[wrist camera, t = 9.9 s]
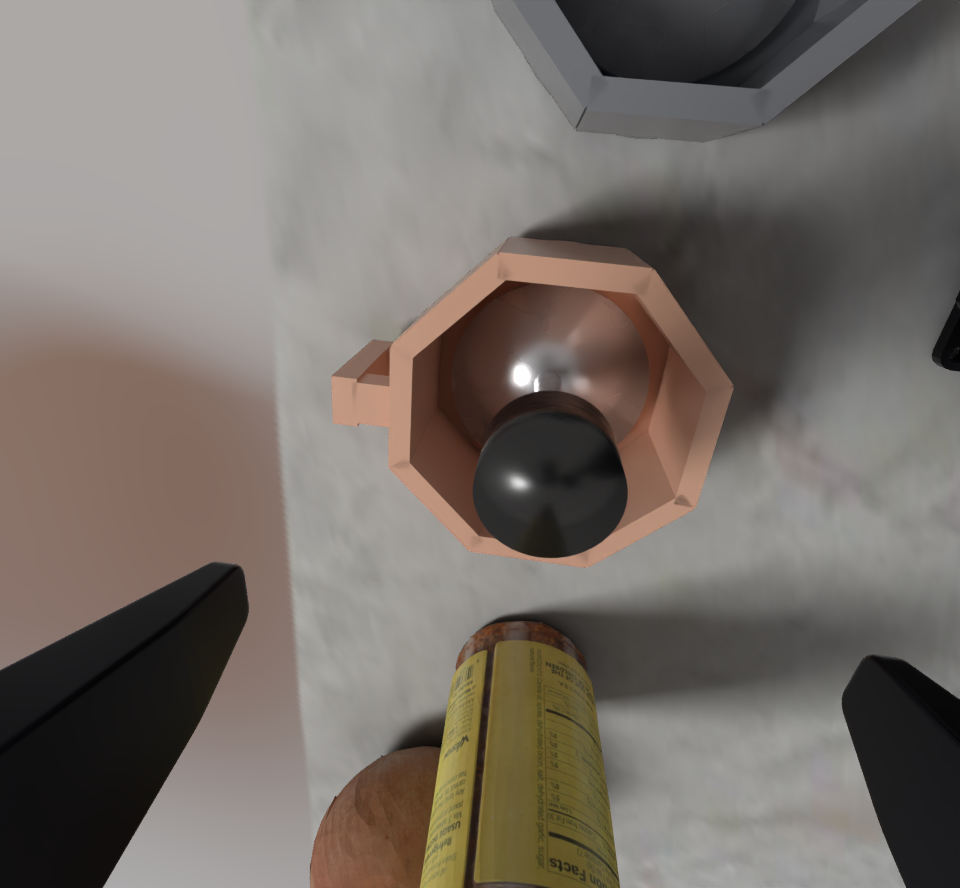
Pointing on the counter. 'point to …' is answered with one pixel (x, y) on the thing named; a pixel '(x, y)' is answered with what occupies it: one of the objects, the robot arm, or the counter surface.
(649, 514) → the bowl
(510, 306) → the black-handled metal tamper
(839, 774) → the counter surface
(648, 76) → the coffee tamper
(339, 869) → the onion
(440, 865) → the sauce bottle
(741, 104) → the grey octagonal cup
